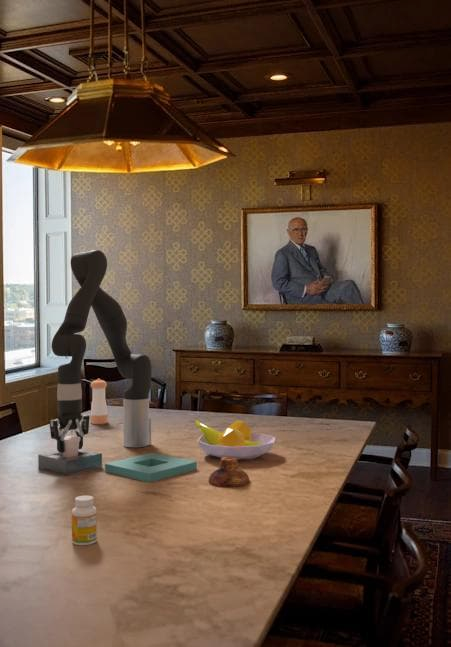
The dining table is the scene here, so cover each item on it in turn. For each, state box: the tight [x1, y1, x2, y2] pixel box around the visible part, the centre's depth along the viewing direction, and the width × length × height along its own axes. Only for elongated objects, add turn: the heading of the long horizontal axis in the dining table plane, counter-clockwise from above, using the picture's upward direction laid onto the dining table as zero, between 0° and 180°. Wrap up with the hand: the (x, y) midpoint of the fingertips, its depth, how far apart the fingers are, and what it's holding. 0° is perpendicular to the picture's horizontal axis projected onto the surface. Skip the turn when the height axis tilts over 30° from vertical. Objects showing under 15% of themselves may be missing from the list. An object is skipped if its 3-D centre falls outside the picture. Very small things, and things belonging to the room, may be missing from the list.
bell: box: [208, 457, 250, 488], centre depth 206 cm, size 12×12×7 cm
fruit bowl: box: [194, 419, 276, 461], centre depth 240 cm, size 28×27×11 cm
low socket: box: [104, 452, 198, 483], centre depth 219 cm, size 20×20×2 cm
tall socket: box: [37, 448, 103, 477], centre depth 223 cm, size 14×14×4 cm
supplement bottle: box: [71, 495, 98, 547], centre depth 155 cm, size 5×5×10 cm
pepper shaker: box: [90, 378, 109, 425], centre depth 305 cm, size 7×7×19 cm
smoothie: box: [62, 429, 80, 458], centre depth 223 cm, size 6×6×14 cm
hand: (70, 450), depth 223 cm, fingers closed on smoothie, 6 cm apart
